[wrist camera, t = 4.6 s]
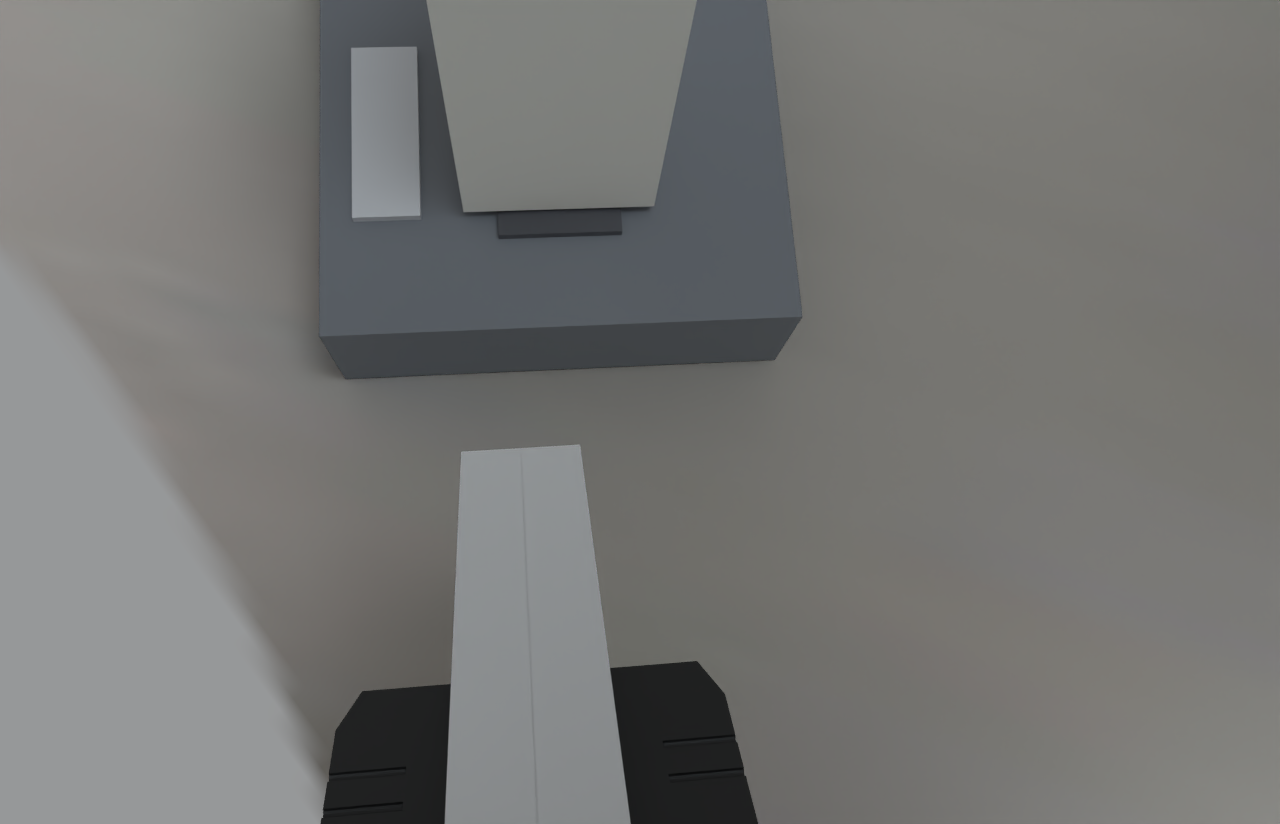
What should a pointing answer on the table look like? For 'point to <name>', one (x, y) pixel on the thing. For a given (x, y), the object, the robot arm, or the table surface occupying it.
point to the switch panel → (547, 220)
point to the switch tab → (559, 98)
